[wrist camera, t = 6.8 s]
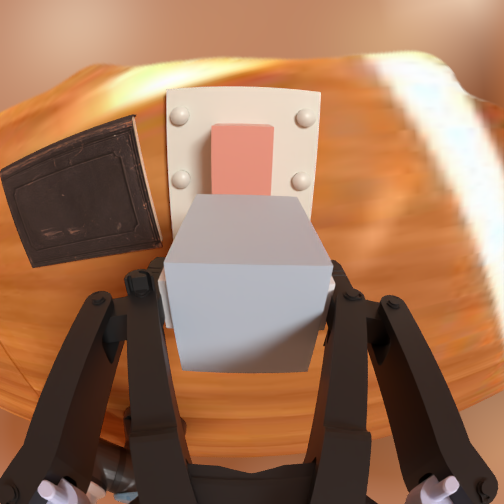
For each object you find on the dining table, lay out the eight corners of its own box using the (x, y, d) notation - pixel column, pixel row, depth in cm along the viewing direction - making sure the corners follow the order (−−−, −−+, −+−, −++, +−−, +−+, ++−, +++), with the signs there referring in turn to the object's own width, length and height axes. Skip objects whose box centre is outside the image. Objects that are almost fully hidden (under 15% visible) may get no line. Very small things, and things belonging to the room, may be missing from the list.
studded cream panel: (177, 254, 36) (166, 281, 30) (169, 90, 26) (152, 86, 21) (303, 255, 36) (313, 283, 31) (318, 92, 27) (335, 89, 21)
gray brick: (200, 278, 20) (182, 370, 13) (196, 194, 17) (163, 262, 10) (287, 280, 20) (307, 371, 13) (296, 196, 17) (333, 265, 10)
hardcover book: (166, 239, 35) (161, 247, 33) (39, 260, 36) (32, 268, 34) (137, 113, 28) (130, 114, 26) (8, 166, 29) (-2, 170, 26)
